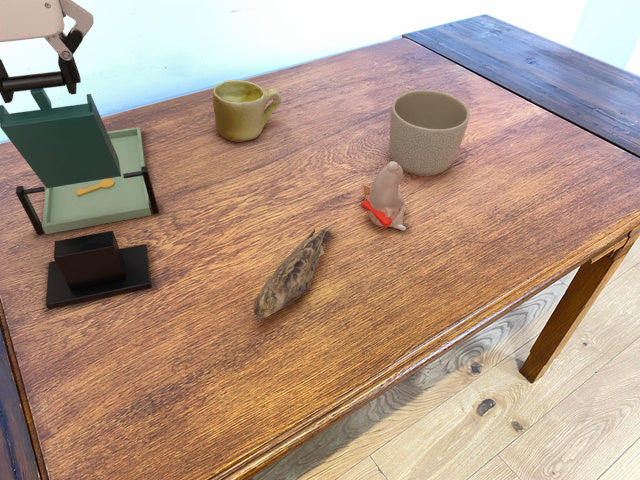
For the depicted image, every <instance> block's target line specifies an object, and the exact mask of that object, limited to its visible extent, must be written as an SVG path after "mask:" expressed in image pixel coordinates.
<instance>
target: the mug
mask: <svg viewBox="0 0 640 480" xmlns="http://www.w3.org/2000/svg"><path fill="white" fill-rule="evenodd" d="M270 101H272V102H271V103H269V102H270ZM281 102H282V95H281V93H280V91H279V90H277V89H276V88H267V89H266V90H264V89H263V88H262V87H261V86H260V85H258V84H256V83H254V82H252V81H248V80H242V79H241V80H240V79H229V80H223V82H221V83H218V84H216V85H215V86H214V87H213V90H212V106H213V112H214V121H215V122H214V123H215V125H214V126H215V129H216V132H217V134H219V135H220V136H221V137H222V138H225V139H227V140H229V141H232V142H235V143H241V142H247V141H252V140H254V139H257V137H259V136H260V135H261V134H262V132H263V130H264V127H265V126H266V125H267V123H268V120H269V119H270V118H271V115H273V114H274V112H275V111H276V110H277V108H278V107H280V105H281ZM268 103H269V105H268ZM267 105H268V106H267Z"/></svg>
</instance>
